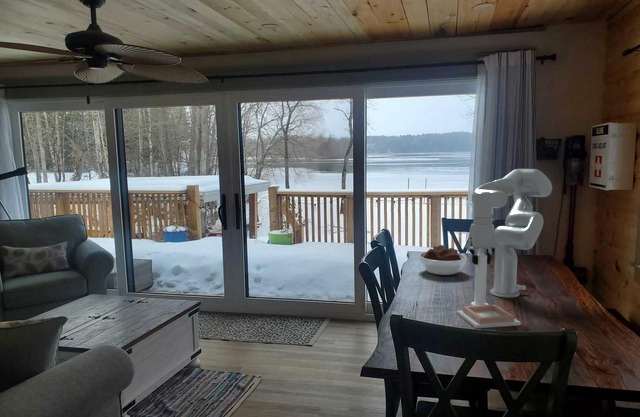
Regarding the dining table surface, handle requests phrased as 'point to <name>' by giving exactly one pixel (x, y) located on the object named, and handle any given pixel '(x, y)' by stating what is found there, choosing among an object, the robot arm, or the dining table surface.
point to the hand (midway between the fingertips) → (481, 263)
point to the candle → (480, 280)
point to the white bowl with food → (442, 260)
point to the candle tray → (487, 316)
